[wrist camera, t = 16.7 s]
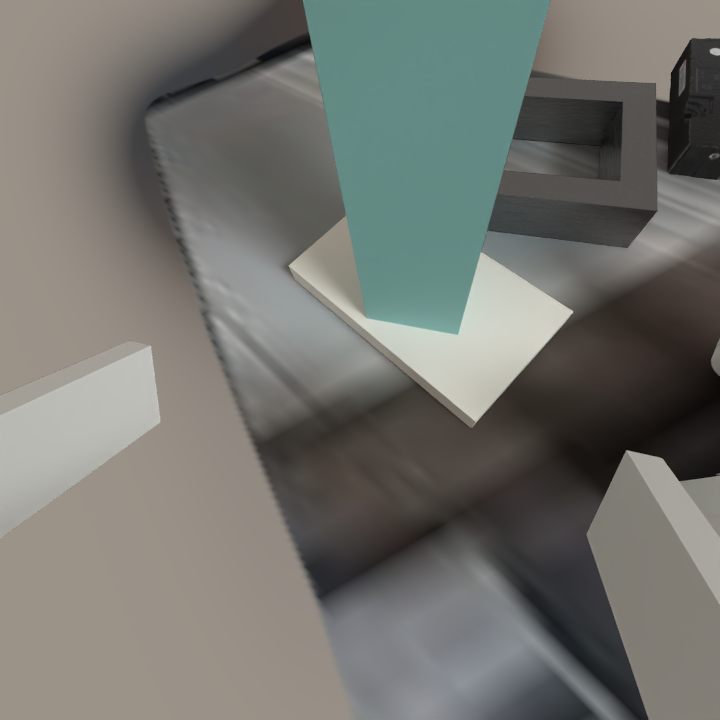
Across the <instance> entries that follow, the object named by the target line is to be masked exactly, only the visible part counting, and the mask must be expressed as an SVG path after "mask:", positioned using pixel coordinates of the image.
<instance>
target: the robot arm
mask: <svg viewBox="0 0 720 720" xmlns="http://www.w3.org/2000/svg"><path fill="white" fill-rule="evenodd" d="M160 422H161V420H160V413H159V405H158V397H157V389H156V381H155V374H154V365H153V358H152V350H151V345H147V344H142V343H138V342H133V341H128V342H125V343H123V344H121V345H118V346H116V347H113V348H111V349H109V350H106V351H104V352H101V353H99V354H97V355H94V356H92V357H90V358H87V359H85V360H83V361H80V362H78V363H75V364H73V365H71V366H68V367H66V368H64V369H61V370H59V371H57V372H54V373H52V374H50V375H47V376H45V377H42V378H40V379H38V380H35V381H33V382H30V383H28V384H26V385H24V386H21V387H18V388H16V389H14V390H12V391H9V392H7V393H5V394H2V395H0V538H2V537H3V536H4V535H6V534H7V533H9V532H10V531H11V530H13V529H14V528H15V527H17V526H18V525H20V524H21V523H22V522H24V521H25V520H27V519H28V518H29V517H31V516H32V515H33V514H35V513H36V512H38V511H39V510H40V509H42V508H43V507H44V506H46V505H47V504H48V503H50V502H51V501H52V500H54V499H55V498H57V497H58V496H60V495H61V494H62V493H64V492H65V491H66V490H68V489H69V488H70V487H72V486H73V485H75V484H76V483H78V482H79V481H80V480H82V479H83V478H84V477H86V476H87V475H88V474H90V473H91V472H93V471H94V470H95V469H97V468H98V467H100V466H101V465H102V464H104V463H105V462H107V461H108V460H109V459H111V458H112V457H113V456H115V455H116V454H118V453H119V452H120V451H122V450H123V449H124V448H126V447H127V446H129V445H130V444H131V443H133V442H134V441H135V440H137V439H138V438H140V437H141V436H142V435H144V434H145V433H146V432H148V431H149V430H151V429H152V428H153V427H155V426H156V425H158V424H159V423H160ZM587 537H588V540H589V543H590V546H591V549H592V552H593V555H594V558H595V561H596V564H597V567H598V570H599V573H600V576H601V579H602V582H603V585H604V588H605V591H606V594H607V597H608V600H609V603H610V606H611V608H612V611H613V614H614V617H615V620H616V623H617V626H618V629H619V632H620V635H621V638H622V641H623V644H624V647H625V650H626V653H627V656H628V659H629V662H630V665H631V668H632V671H633V674H634V677H635V680H636V683H637V686H638V689H639V692H640V694H641V697H642V700H643V703H644V706H645V709H646V712H647V715H648V718H649V720H720V537H719V536H718V534H717V533H716V532H715V530H714V529H713V528H712V526H711V525H710V523H709V522H708V521H707V519H706V518H705V517H704V515H703V514H702V512H701V511H700V510H699V508H698V507H697V505H696V504H695V503H694V501H693V500H692V499H691V497H690V496H689V494H688V493H687V492H686V490H685V489H684V488H683V486H682V485H681V483H680V482H679V481H678V479H677V478H676V476H675V475H674V474H673V472H672V471H671V470H670V468H669V467H668V465H667V464H666V463H665V461H664V460H663V459H662V458H659V457H655V456H650V455H646V454H641V453H637V452H632V451H628V450H626V452H625V454H624V456H623V458H622V460H621V462H620V464H619V467H618V469H617V471H616V473H615V475H614V477H613V479H612V481H611V484H610V486H609V488H608V490H607V492H606V494H605V496H604V498H603V501H602V503H601V505H600V507H599V509H598V511H597V513H596V515H595V517H594V520H593V522H592V524H591V526H590V528H589V530H588V532H587Z"/></svg>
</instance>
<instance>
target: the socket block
mask: <svg viewBox="0 0 720 720" xmlns="http://www.w3.org/2000/svg"><path fill="white" fill-rule="evenodd" d="M512 139H523V140H536V141H548V142H561V143H574V144H586V145H599V146H600V159H599V176H598V179H589V178H579V177H568V176H558V175H547V174H536V173H526V172H515V171H505V170H503V174H502V177H501V181H500V185H499V188H498V192H497V195H496V199H495V203H494V206H493V210H492V214H491V217H490V221H489V224H488V228H487V230H489V231H497V232H505V233H513V234H522V235H530V236H538V237H546V238H554V239H562V240H570V241H578V242H586V243H594V244H602V245H610V246H618V247H626V248H628V246H629V245H630V244H631V243H632V241H633V240H634V239H635V238H636V237H637V235H638V234H639V233H640V232H641V230H642V229H643V228H644V227H645V225H646V224H647V223H648V222H649V221H650V219H651V218H652V217H653V216H654V214H655V213H656V212H657V138H656V83H635V82H616V81H595V80H575V79H555V78H534V77H529V80H528V83H527V87H526V91H525V94H524V98H523V101H522V105H521V109H520V112H519V116H518V120H517V123H516V127H515V130H514V134H513V138H512Z"/></svg>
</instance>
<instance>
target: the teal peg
mask: <svg viewBox="0 0 720 720" xmlns="http://www.w3.org/2000/svg"><path fill="white" fill-rule="evenodd" d="M303 4H304V8H305V14H306V19H307V23H308V29H309V34H310V39H311V44H312V49H313V54H314V59H315V64H316V68H317V73H318V78H319V83H320V88H321V93H322V98H323V103H324V108H325V113H326V118H327V123H328V128H329V133H330V138H331V143H332V148H333V153H334V158H335V163H336V168H337V173H338V178H339V183H340V188H341V193H342V198H343V203H344V208H345V213H346V218H347V223H348V228H349V233H350V238H351V243H352V247H353V252H354V257H355V262H356V267H357V272H358V277H359V282H360V287H361V292H362V297H363V302H364V307H365V312H366V317H367V318H368V319H373V320H379V321H384V322H390V323H395V324H401V325H406V326H411V327H417V328H422V329H428V330H433V331H439V332H444V333H450V334H455V335H458V333H459V329H460V326H461V322H462V318H463V315H464V311H465V308H466V304H467V300H468V297H469V293H470V289H471V286H472V282H473V279H474V275H475V271H476V268H477V264H478V261H479V257H480V253H481V250H482V246H483V242H484V239H485V235H486V232H487V228H488V224H489V221H490V217H491V214H492V210H493V206H494V203H495V199H496V195H497V192H498V188H499V185H500V181H501V177H502V174H503V170H504V167H505V163H506V159H507V156H508V152H509V148H510V145H511V141H512V138H513V134H514V130H515V127H516V123H517V120H518V116H519V112H520V109H521V105H522V101H523V98H524V94H525V91H526V87H527V83H528V80H529V76H530V73H531V69H532V65H533V62H534V58H535V54H536V50H537V47H538V43H539V40H540V36H541V33H542V29H543V26H544V22H545V18H546V15H547V11H548V7H549V4H550V0H303Z"/></svg>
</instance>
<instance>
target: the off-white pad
mask: <svg viewBox="0 0 720 720" xmlns="http://www.w3.org/2000/svg"><path fill="white" fill-rule="evenodd" d="M289 268H290V270H291V272H292V274H293V277H294V279H295V280H296V281H297V282H298V283H299V284H301V285H302V286H303V287H304V288H305V289H307V290H308V291H309V292H310V293H311V294H312V295H314V296H315V297H316V298H317V299H318V300H320V301H321V302H322V303H323V304H324V305H325V306H327V307H328V308H329V309H330V310H331V311H333V312H334V313H335V314H336V315H337V316H338V317H340V318H341V319H342V320H343V321H344V322H346V323H347V324H348V325H349V326H350V327H352V328H353V329H354V330H355V331H356V332H357V333H359V334H360V335H361V336H362V337H363V338H365V339H366V340H367V341H368V342H369V343H370V344H372V345H373V346H374V347H375V348H376V349H378V350H379V351H380V352H381V353H382V354H383V355H385V356H386V357H387V358H388V359H389V360H391V361H392V362H393V363H394V364H395V365H396V366H398V367H399V368H400V369H401V370H402V371H404V372H405V373H406V374H407V375H408V376H410V377H411V378H412V379H413V380H414V381H415V382H417V383H418V384H419V385H420V386H421V387H423V388H424V389H425V390H426V391H427V392H428V393H430V394H431V395H432V396H433V397H434V398H436V399H437V400H438V401H439V402H440V403H441V404H443V405H444V406H445V407H446V408H447V409H449V410H450V411H451V412H452V413H453V414H454V415H456V416H457V417H458V418H459V419H460V420H462V421H463V422H464V423H465V424H466V425H467V426H469V427H470V428H472V427H473V426H474V425H475V424H476V422H477V421H478V420H479V419H480V418H481V417H482V416H483V415H484V413H485V412H486V411H487V410H488V409H489V408H490V407H491V406H492V404H493V403H494V402H495V401H496V400H497V399H498V398H499V397H500V395H501V394H502V393H503V392H504V391H505V390H506V389H507V388H508V386H509V385H510V384H511V383H512V382H513V381H514V380H515V379H516V377H517V376H518V375H519V374H520V373H521V372H522V371H523V369H524V368H525V367H526V366H527V365H528V364H529V363H530V362H531V360H532V359H533V358H534V357H535V356H536V355H537V354H538V353H539V351H540V350H541V349H542V348H543V347H544V346H545V345H546V344H547V342H548V341H549V340H550V339H551V338H552V337H553V336H554V335H555V333H556V332H557V331H558V330H559V329H560V328H561V327H562V325H563V324H564V323H565V322H566V321H567V319H568V318H569V317H570V316H571V314H572V313H573V311H572V310H570V309H569V308H567V307H566V306H564V305H563V304H561V303H559V302H558V301H556V300H555V299H553V298H552V297H550V296H549V295H547V294H546V293H544V292H542V291H541V290H539V289H538V288H536V287H535V286H533V285H532V284H530V283H529V282H527V281H525V280H524V279H522V278H521V277H519V276H518V275H516V274H515V273H513V272H512V271H510V270H508V269H507V268H505V267H504V266H502V265H501V264H499V263H498V262H496V261H495V260H493V259H491V258H490V257H488V256H487V255H485V254H484V253H482V252H481V253H480V257H479V261H478V264H477V268H476V271H475V275H474V279H473V282H472V286H471V289H470V293H469V297H468V300H467V304H466V308H465V311H464V315H463V318H462V322H461V326H460V329H459V333H458V335H455V334H450V333H444V332H439V331H433V330H428V329H422V328H417V327H411V326H406V325H401V324H395V323H390V322H384V321H379V320H373V319H368V318H367V317H366V312H365V307H364V302H363V297H362V292H361V287H360V282H359V277H358V272H357V267H356V262H355V257H354V252H353V247H352V243H351V238H350V233H349V228H348V223H347V218H346V216H345V217H344V218H342V219H341V220H340V221H339V222H338V223H337V224H336V225H334V226H333V227H332V228H331V229H330V230H329V231H328V232H326V233H325V234H324V235H323V236H322V237H321V238H320V239H318V240H317V241H316V242H315V243H314V244H313V245H312V246H310V247H309V248H308V249H307V250H306V251H305V252H304V253H302V254H301V255H300V256H299V257H298V258H297V259H296V260H294V261H293V262H292V263H291V264H290V265H289Z"/></svg>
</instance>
